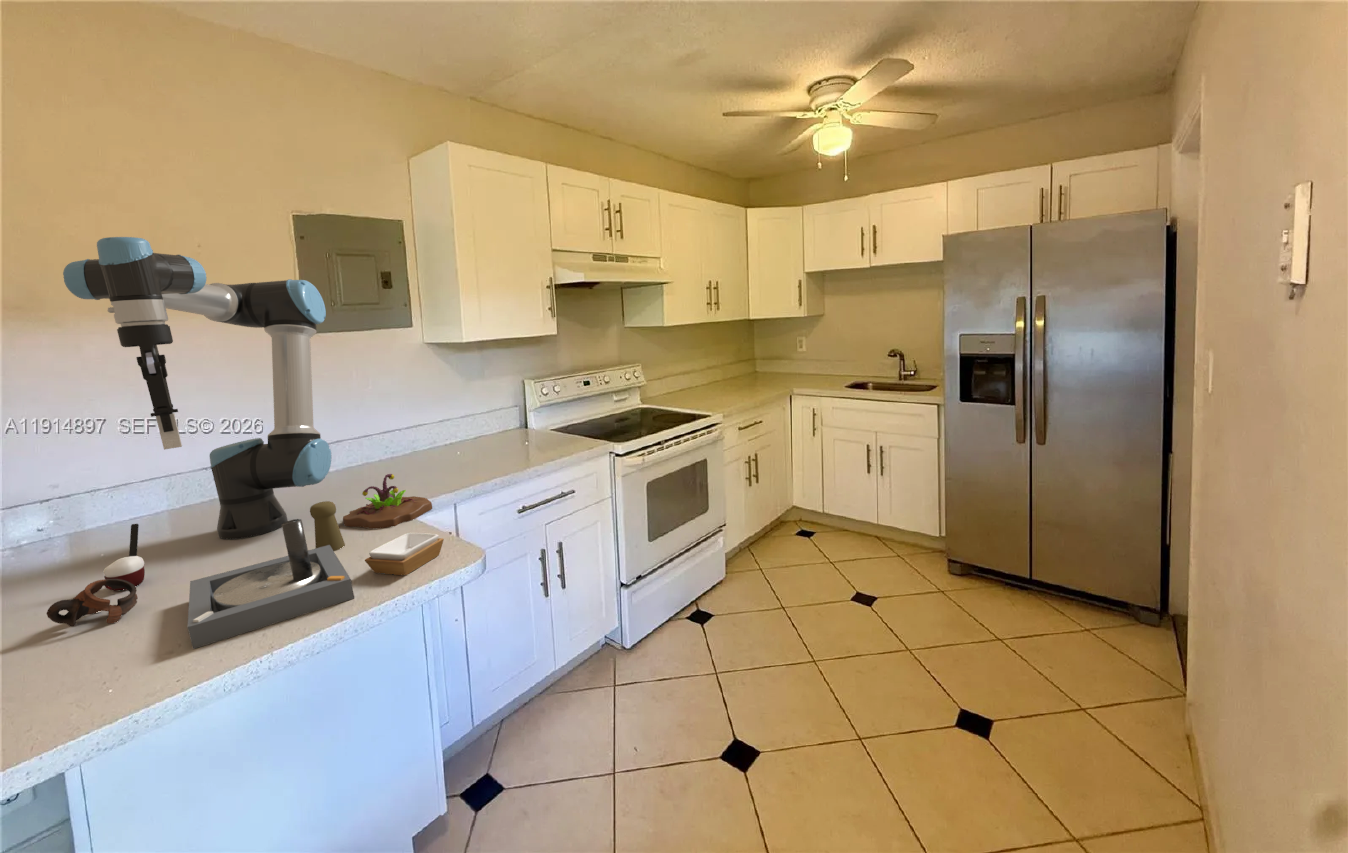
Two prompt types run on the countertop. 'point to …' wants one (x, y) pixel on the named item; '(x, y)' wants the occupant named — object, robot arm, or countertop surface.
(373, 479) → the countertop surface
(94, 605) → the brown split ring clamp
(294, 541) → the dial
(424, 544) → the soap dish
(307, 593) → the tray
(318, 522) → the cork
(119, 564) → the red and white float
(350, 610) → the countertop surface
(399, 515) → the plant
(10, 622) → the countertop surface
